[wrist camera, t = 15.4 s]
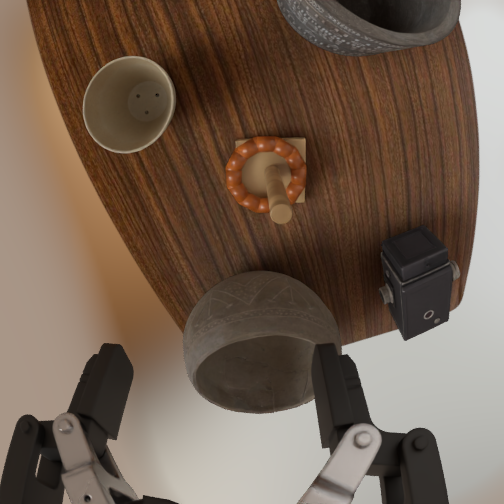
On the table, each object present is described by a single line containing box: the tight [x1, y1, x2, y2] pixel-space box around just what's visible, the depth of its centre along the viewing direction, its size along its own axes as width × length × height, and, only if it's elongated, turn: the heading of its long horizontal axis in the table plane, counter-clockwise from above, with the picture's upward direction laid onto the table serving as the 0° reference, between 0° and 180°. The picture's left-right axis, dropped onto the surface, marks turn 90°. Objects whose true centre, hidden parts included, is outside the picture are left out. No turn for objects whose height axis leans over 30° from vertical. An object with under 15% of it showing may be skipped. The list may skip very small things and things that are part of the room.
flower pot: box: [83, 56, 176, 153], centre depth 26 cm, size 10×10×7 cm
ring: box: [226, 136, 307, 213], centre depth 33 cm, size 9×9×2 cm
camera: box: [379, 225, 460, 341], centre depth 36 cm, size 11×11×15 cm
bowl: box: [183, 271, 342, 414], centre depth 39 cm, size 21×21×15 cm
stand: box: [236, 138, 306, 224], centre depth 29 cm, size 8×8×13 cm
